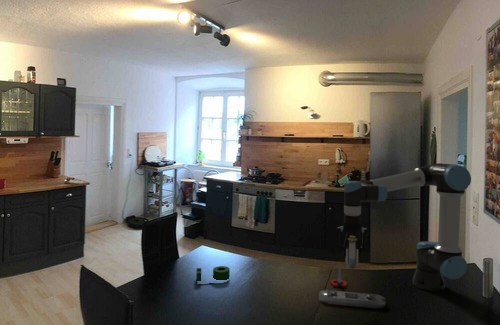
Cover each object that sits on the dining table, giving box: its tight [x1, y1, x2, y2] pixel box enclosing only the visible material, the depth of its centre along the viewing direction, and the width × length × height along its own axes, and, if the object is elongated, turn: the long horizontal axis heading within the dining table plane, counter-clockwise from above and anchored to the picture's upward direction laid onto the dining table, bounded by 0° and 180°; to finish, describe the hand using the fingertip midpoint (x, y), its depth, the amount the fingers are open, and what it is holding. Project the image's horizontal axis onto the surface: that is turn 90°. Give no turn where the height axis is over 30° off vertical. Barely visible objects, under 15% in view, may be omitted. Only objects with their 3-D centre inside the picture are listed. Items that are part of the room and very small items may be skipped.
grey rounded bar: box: [318, 289, 386, 309], centre depth 159 cm, size 30×8×4 cm, turn 77°
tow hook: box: [330, 262, 348, 289], centre depth 180 cm, size 8×13×9 cm
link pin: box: [346, 235, 359, 270], centre depth 158 cm, size 5×5×14 cm
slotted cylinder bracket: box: [195, 265, 231, 282], centre depth 185 cm, size 18×9×6 cm, turn 98°
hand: (351, 263), depth 158 cm, fingers closed on link pin, 4 cm apart
